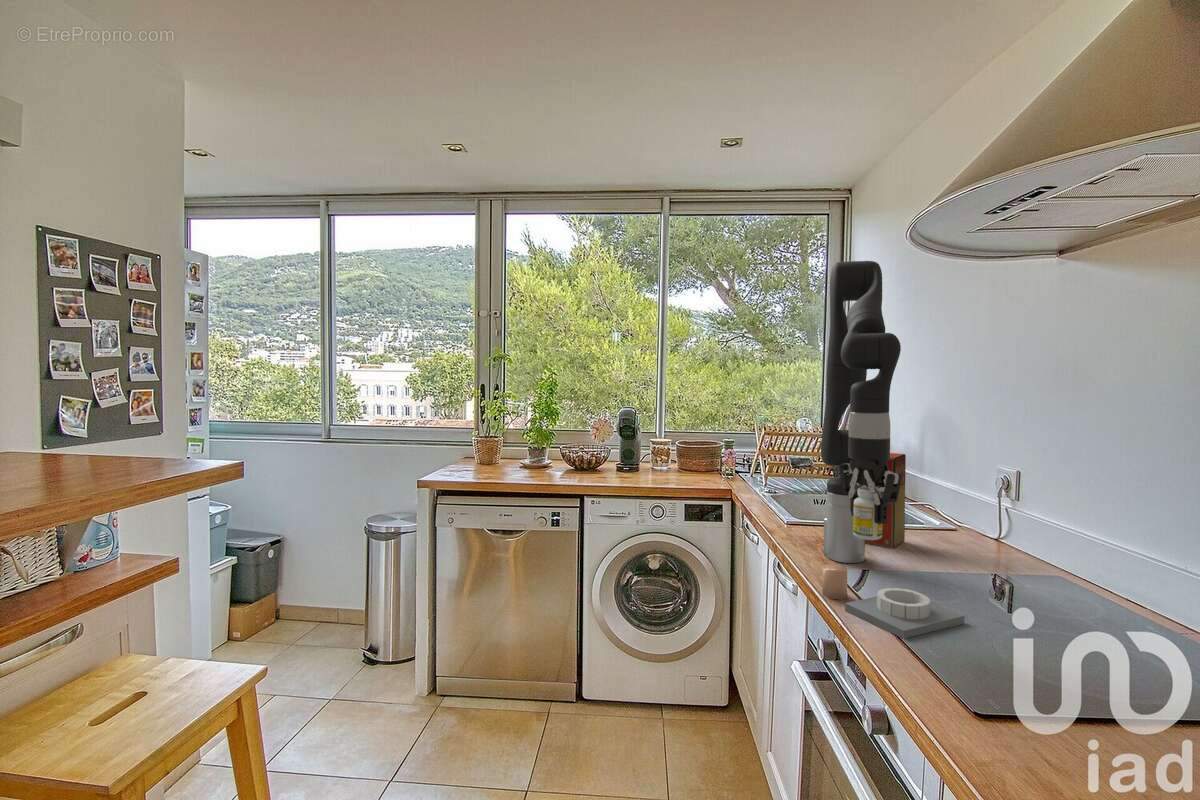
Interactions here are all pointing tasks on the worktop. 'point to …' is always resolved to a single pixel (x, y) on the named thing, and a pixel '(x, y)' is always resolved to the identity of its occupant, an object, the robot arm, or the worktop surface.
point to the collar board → (901, 623)
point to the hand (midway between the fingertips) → (868, 519)
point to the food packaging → (894, 508)
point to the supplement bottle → (865, 516)
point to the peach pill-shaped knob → (834, 581)
